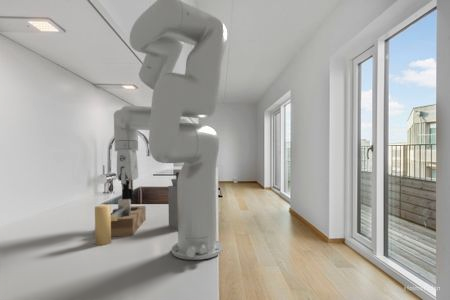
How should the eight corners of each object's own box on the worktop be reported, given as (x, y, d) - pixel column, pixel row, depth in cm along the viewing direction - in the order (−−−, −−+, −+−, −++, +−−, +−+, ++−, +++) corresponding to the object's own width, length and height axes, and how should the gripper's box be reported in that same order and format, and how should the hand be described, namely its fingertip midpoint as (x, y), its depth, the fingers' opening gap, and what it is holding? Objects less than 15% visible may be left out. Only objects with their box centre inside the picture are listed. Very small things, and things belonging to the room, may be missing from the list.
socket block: (132, 235, 84) (132, 212, 84) (101, 236, 83) (101, 213, 83) (145, 219, 104) (145, 200, 104) (120, 220, 103) (120, 201, 103)
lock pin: (120, 220, 81) (120, 205, 81) (107, 221, 81) (107, 205, 81) (130, 211, 93) (130, 198, 93) (119, 212, 93) (119, 199, 93)
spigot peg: (108, 244, 75) (107, 207, 75) (92, 245, 75) (92, 208, 75) (112, 240, 79) (112, 205, 79) (98, 240, 79) (97, 205, 79)
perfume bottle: (197, 224, 95) (196, 171, 95) (184, 229, 89) (183, 173, 89) (182, 222, 99) (181, 171, 99) (168, 226, 93) (168, 172, 93)
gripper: (132, 145, 88) (134, 204, 87) (142, 147, 103) (143, 197, 102) (107, 146, 87) (109, 205, 87) (121, 147, 102) (122, 198, 102)
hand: (127, 200), depth 94 cm, fingers closed
